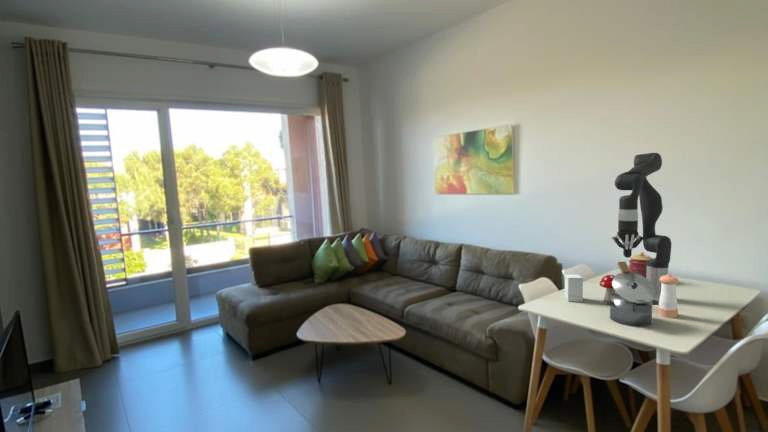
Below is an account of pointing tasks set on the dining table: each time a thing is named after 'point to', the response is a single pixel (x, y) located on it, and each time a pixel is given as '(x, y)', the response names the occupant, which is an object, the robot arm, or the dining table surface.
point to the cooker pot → (630, 311)
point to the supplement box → (574, 288)
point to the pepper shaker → (668, 297)
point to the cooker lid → (633, 286)
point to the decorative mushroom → (607, 286)
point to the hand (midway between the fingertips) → (627, 257)
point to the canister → (639, 264)
